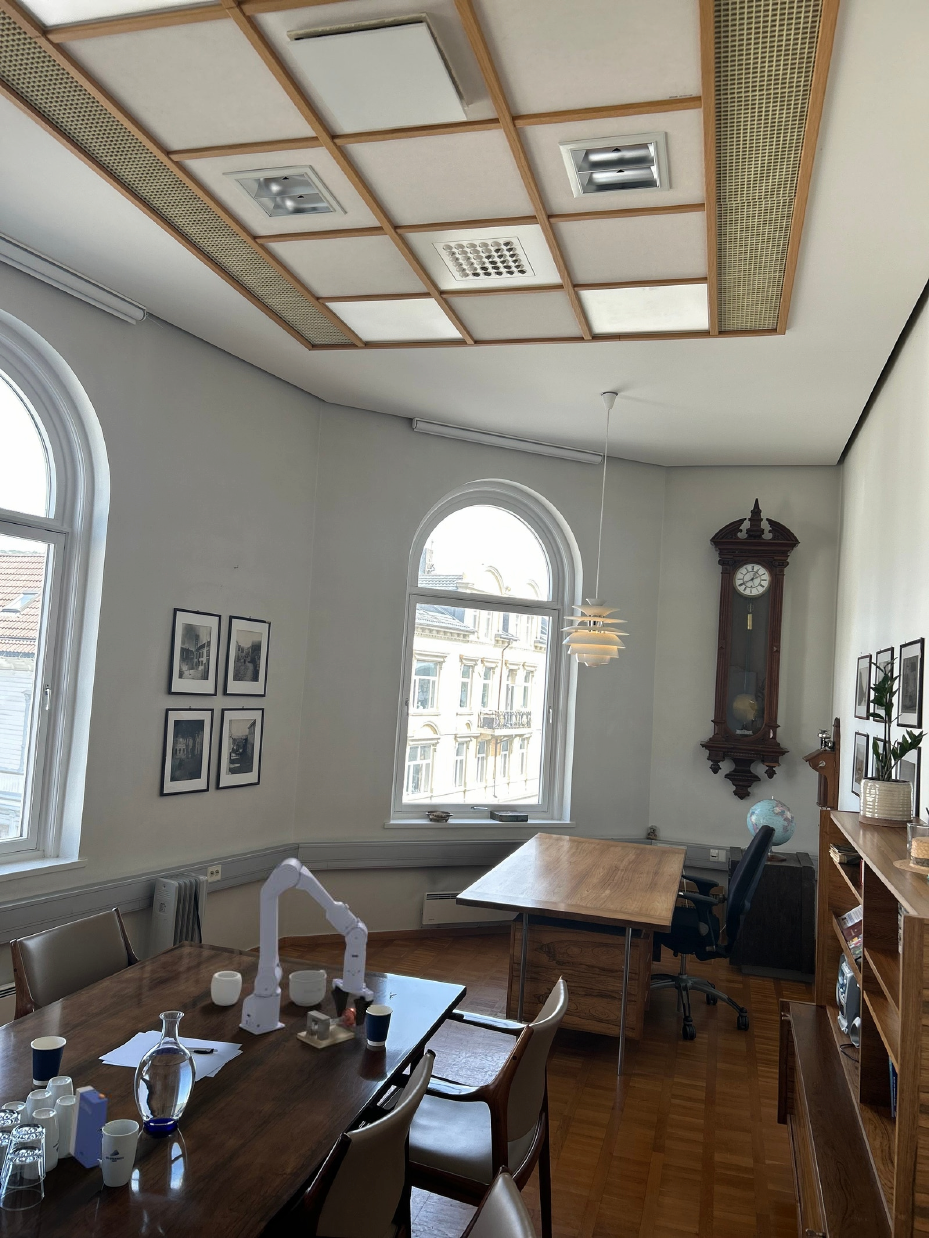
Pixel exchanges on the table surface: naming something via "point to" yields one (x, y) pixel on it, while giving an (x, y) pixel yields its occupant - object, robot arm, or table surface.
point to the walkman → (88, 1126)
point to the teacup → (307, 987)
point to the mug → (226, 987)
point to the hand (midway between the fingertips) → (350, 1020)
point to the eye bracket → (323, 1031)
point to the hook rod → (341, 1019)
